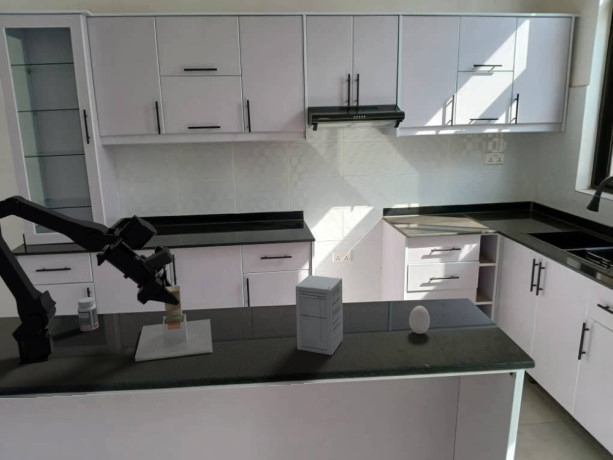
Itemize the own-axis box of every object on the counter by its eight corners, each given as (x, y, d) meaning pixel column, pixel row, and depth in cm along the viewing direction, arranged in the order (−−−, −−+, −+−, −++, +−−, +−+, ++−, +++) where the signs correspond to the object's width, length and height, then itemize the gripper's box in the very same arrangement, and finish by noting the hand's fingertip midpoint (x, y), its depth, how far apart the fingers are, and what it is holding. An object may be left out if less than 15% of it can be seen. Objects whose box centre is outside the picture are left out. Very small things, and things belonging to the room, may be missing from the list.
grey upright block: (343, 339, 120) (344, 277, 116) (332, 356, 111) (332, 289, 108) (309, 334, 123) (308, 274, 120) (295, 349, 115) (294, 285, 111)
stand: (135, 361, 110) (133, 338, 109) (143, 330, 127) (141, 309, 126) (212, 352, 114) (211, 329, 113) (210, 323, 131) (208, 303, 130)
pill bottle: (93, 323, 132) (90, 295, 131) (101, 327, 129) (98, 299, 128) (76, 328, 129) (73, 300, 127) (85, 333, 126) (81, 304, 124)
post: (166, 331, 117) (163, 292, 115) (167, 324, 121) (164, 286, 119) (182, 329, 118) (179, 290, 116) (183, 323, 122) (180, 285, 120)
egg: (431, 337, 120) (432, 310, 119) (410, 337, 121) (411, 310, 119) (427, 328, 125) (428, 302, 124) (407, 328, 126) (408, 302, 124)
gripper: (147, 248, 105) (200, 290, 110) (154, 230, 123) (199, 267, 127) (114, 284, 105) (168, 324, 110) (125, 261, 123) (172, 297, 127)
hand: (178, 300), depth 119 cm, fingers closed on post, 4 cm apart
